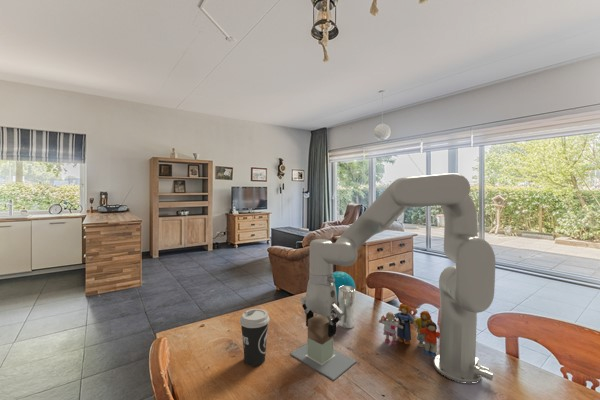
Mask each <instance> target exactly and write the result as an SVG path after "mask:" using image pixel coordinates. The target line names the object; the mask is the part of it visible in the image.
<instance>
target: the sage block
mask: <svg viewBox="0 0 600 400" xmlns="http://www.w3.org/2000/svg"><path fill="white" fill-rule="evenodd" d="M307 343H308V350H307V355H308V356H309V357H311V358H313V359H314V360H316V361H318V362H320V363H321V364H322V363H323V362H325V361H326V360H327V359H329V358H330V357H332V356H333V349H334V337H333V338H332V339H330V340H329V341H327V342H326V343H324V344H322V345H321V344H319V343H317V342H315V341H313V340H311V339H309V338H308V337H307Z"/></svg>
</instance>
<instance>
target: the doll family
mask: <svg viewBox="0 0 600 400" xmlns="http://www.w3.org/2000/svg"><path fill="white" fill-rule="evenodd" d="M397 308H398V310H397V311H399V312H396V313H393V312H391V311H390V312H387V313H386V315H384V314H383V315H381V317H380V319H379V320H378V323H379V324H382V325H384V326H383V336H385V339H384V343H387V344H392V345H393V346H397V345H398V342H399V343H404V345H410V344H411V341H412V333H411V332H412V331H411V325H413V326H414V327H415V329H416V333H417V338H416V340H417V341H418V344H417V346H418V347H421V348H423V347H424V350H423V353H424V354H426V355H430V356H431V357H432V356H434V358H435V356H436V355H437V351H438V347H437V345H438V339H439V340H440V331H437V330H438V326H437V324H436V323H435V322H434V321H433V320H432V316H431V313H429V311H428V310H421V312H420V313H419V315H420V316H419V317H417V318H416V319H415V318H414V317H413V316H412V314H410V313H409V311H410V309H411V305H410V304H403V303H400V305H399V306H397ZM397 319H398V320H397ZM390 338H392V339H390ZM397 338H398V339H397ZM396 339H397V340H396Z"/></svg>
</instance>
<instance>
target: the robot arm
mask: <svg viewBox="0 0 600 400" xmlns="http://www.w3.org/2000/svg"><path fill="white" fill-rule="evenodd" d="M470 191H471V185H470V181H468V179H467V178H466V177H465V176H464V175H462V174H460V173H456V172H452V173H451V172H450V173H442V174H441V173H440V174H432V175H431V174H430V175H420V176H419V175H418V176H417V175H416V176H405V177H400V178H397V179H395V180H394V181H393V182H391V184H389V186H388V187H386V189H384V191H383V192H382V193H381V194H380V195H379V196H378V197H377V198H376V199H375V200H374V201H373V202H372V203H371V204H370V205H369V206H368V208H366V209H365V210H364V212H362V213H361V214H360V215H359V217H358V218H357V219H356V220H355V221H354V222H353V223H351V224H350V225H349V226H348V227H347V229H346V230H345V231H344V232H343V233H342V234H341V235H340V236H339V237H338V238H337V239H336V241H335V242H332V240H329V239H324V238H318V239H312V240H311V242H310V243H309V273H308V276H309V279H308V282H307V286H306V287H307V288H306V295H305V296H303V297H301V298H300V302H301V305H302V309H303V310H304V314H305V326H306V327H307V328H308V319H310V318H312V317H314V316H315V314H314V313H316V314H317V315H318V314H320V315H323V316H325V317H327V319H328V321H329V323H330V324H329V325H328V336H329V337H332V336H333V335H334V336H335V335H336V334H337V324H338V323H339V321H340V320H341V318H342V316H343V315H344V313H343V312H342V311H341V310H340V309H339V305H338V304H337V293H336V287H335V283H333V282H335V278H333V273H334V272H333V271H334V268H333V267H334V265H336V266H339V267H340V266H341V267H349V266H352V265H354V264H355V263H356V262H357V260H358V255H359V254H358V250H359V249H360V248H361V247H362V246H363V245H364V244H365V243H366V242H368V240H369V239H371V238H372V237H373V236H375V235H377V234H380V233H382V232H384V231H386V230H387V229H388V228H389V227H390V226H391V225H392V224H393V223H394V222H395V221H397V219H398V218H399V217H400V216H401V215H402V214H403V213H404V212H405V211H406V210H407V209H408V208H418V207H419V208H421V207H434V206H435V207H436V206H440V207H441V209H442V212H443V219H444V220H443V221H444V230H443V231H444V232H443V233H444V234H443V252H444V255H445V256H446V257H447V258H448V260H450V261H451V262H453V263H454V264H455V265H450V266H447V267H445V268H444V269H443V270H442V271H441V273H440V274H439V277H438V289H439V296H440V297H439V299H440V317H439V319H440V320H439V333H440V338H439V350H438V352H439V354H438V355H437V356H436V357H434V358H433V366H434V368H435V370H436V371H437V372H438V373H439V374H440V373H441V374H440V375H442V376H443V375H444V377H445V376H446V377H448V378H450V379H449V380H451V379H452V380H451V381H453V380H455V381H454V382H456V381H459V382H466V383H472V382H477V381H479V380H480V379H481V380H482V378H484V379H487V380H489V381H490V382H492V381H493V378H494V373H493V372H490V370H491V369H490V368H489V367H487V366H483V365H481V363H479V358H478V357H476V352H477V351H476V349H477V326H478V325H477V321H478V315H477V314H479V313H482V312H485V311H486V310H488V309H489V308H490V307H491V305H492V304H493V300H494V297H495V289H496V288H495V285H496V255H495V252H494V248H493V247H492V246H491V245H490V243H489V242H488V241H487V240H486V239H484V238H482V237H479V235H478V212H477V209H476V205H475V202H474V200H473V198H471V195H470ZM332 319H333V320H332ZM446 377H445V378H446ZM448 378H447V379H448ZM481 380H480V381H481ZM480 381H479V382H480ZM459 382H458V383H459ZM477 383H478V382H477Z"/></svg>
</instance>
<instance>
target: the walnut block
mask: <svg viewBox="0 0 600 400" xmlns="http://www.w3.org/2000/svg"><path fill="white" fill-rule="evenodd" d="M332 320H333V318H332ZM329 324H330V323H329V321H328V319H327V317H325V316H323V315H320V314H318V313H317V314H316V315H314V317H312V318H310V319H308V327H307V339H308V338H309V339H311V340H313V341H315V342H317V343H319V344H321V345H322V344H324V343H326V342H327V341H329V340H330V339H332V338H333V339H334V336H335V335H333V336H332V337H329V336H328V325H329Z"/></svg>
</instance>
